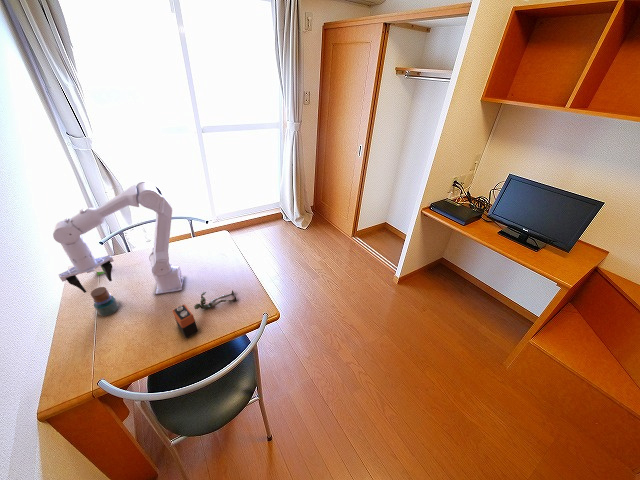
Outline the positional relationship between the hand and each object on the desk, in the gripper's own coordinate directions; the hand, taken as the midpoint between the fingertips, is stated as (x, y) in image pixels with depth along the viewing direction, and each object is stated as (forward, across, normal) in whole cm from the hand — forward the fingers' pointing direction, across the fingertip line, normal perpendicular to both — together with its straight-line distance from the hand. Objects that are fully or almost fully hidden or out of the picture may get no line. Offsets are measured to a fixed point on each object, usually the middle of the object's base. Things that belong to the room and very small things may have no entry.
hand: (97, 285), depth 95 cm
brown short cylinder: (+4, -1, -2) cm, 5 cm away
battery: (+11, +14, -32) cm, 37 cm away
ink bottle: (+10, -1, -2) cm, 11 cm away
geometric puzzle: (+11, +5, +23) cm, 26 cm away
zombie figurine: (+11, +27, -29) cm, 41 cm away
